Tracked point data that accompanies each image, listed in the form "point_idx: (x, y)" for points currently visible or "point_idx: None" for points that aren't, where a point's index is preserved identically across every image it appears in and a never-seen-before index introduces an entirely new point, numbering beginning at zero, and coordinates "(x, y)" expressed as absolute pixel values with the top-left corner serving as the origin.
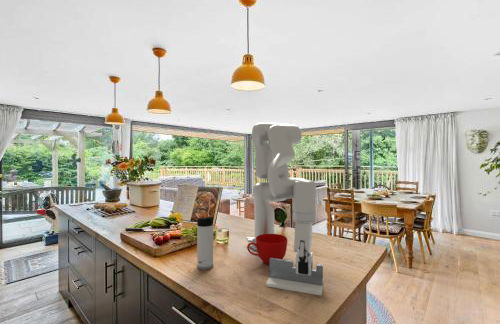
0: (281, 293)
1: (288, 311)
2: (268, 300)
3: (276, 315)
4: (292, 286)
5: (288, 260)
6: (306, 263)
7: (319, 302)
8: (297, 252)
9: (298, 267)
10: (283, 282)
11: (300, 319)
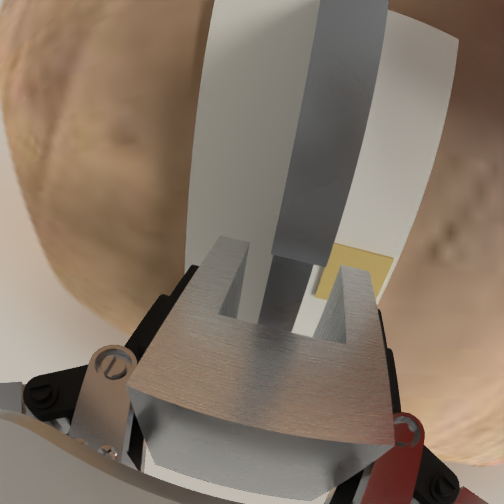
0: (151, 102)
1: (40, 162)
2: (79, 54)
3: (16, 123)
4: (206, 174)
5: (332, 199)
6: None
7: (133, 291)
8: (286, 436)
9: (172, 298)
10: (256, 104)
11: (26, 207)
